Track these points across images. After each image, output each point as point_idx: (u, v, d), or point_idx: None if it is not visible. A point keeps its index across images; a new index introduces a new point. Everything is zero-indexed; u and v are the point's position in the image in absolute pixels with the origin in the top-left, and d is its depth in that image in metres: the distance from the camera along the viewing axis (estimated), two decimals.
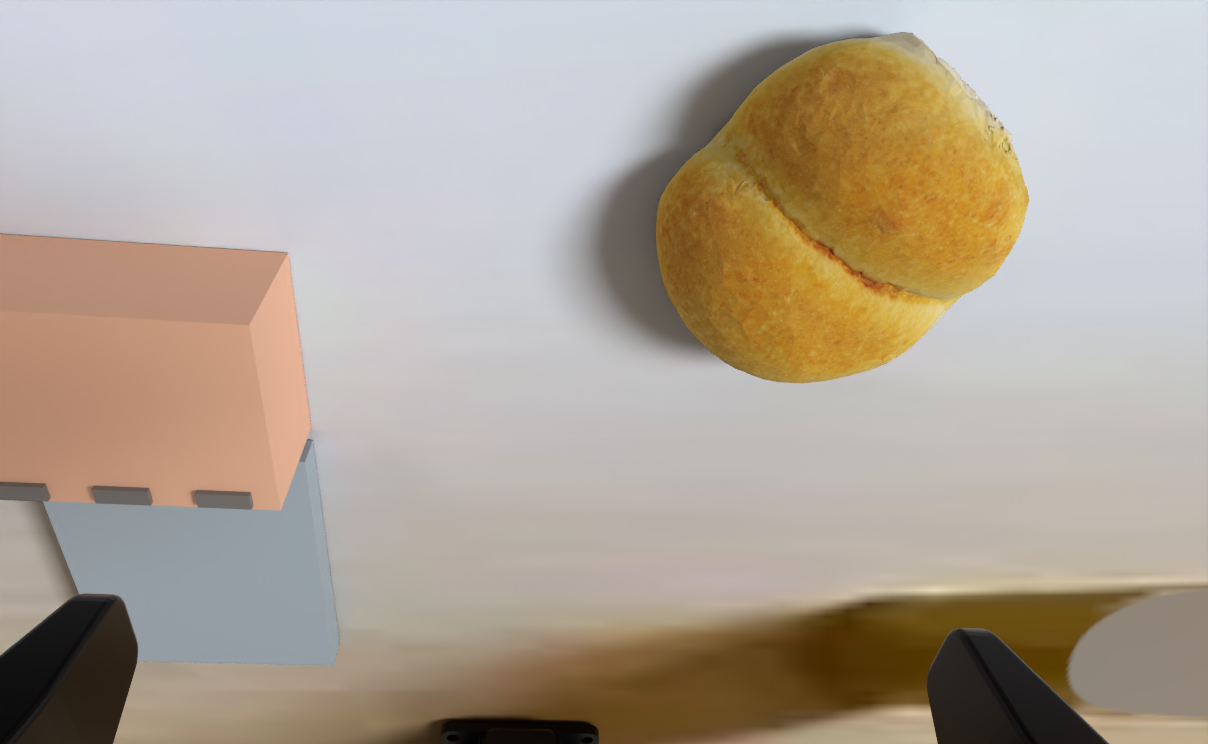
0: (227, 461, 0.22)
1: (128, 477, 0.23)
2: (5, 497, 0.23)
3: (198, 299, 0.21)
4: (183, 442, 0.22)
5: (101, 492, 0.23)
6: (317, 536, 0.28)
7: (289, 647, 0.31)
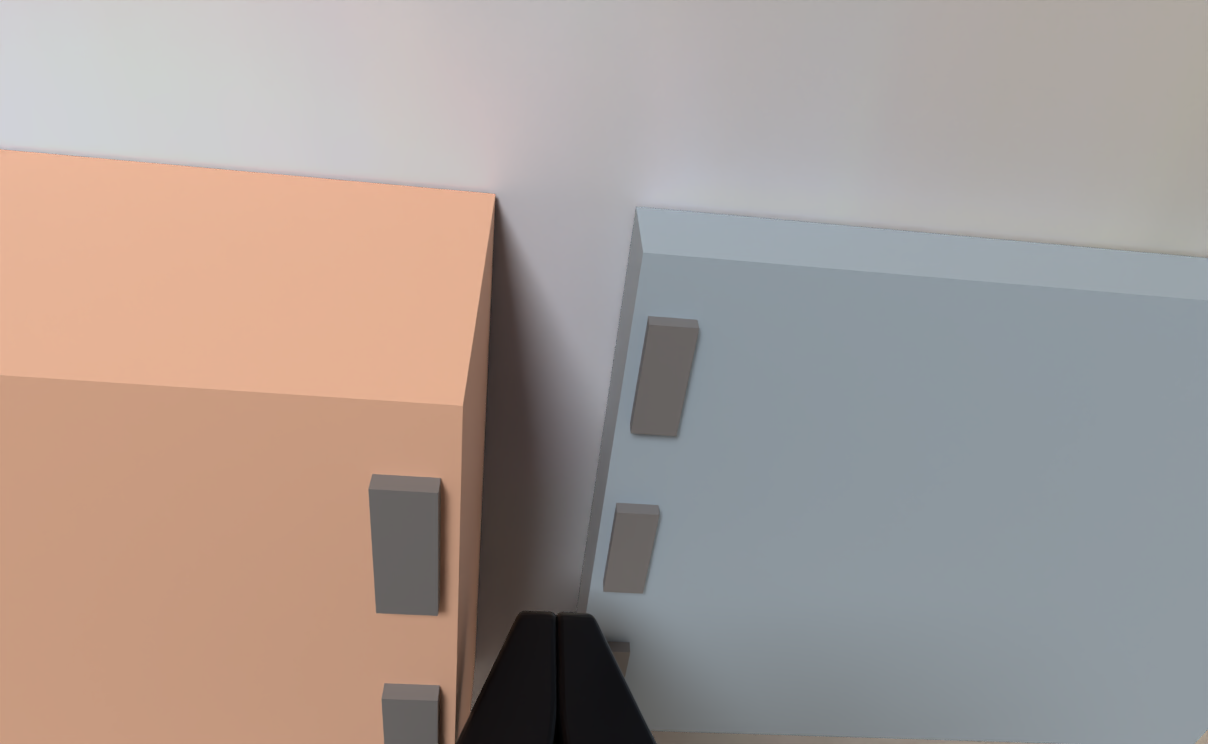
0: (231, 509, 0.07)
1: (348, 710, 0.08)
2: None
3: None
4: (175, 591, 0.07)
5: None
6: (975, 271, 0.09)
7: None
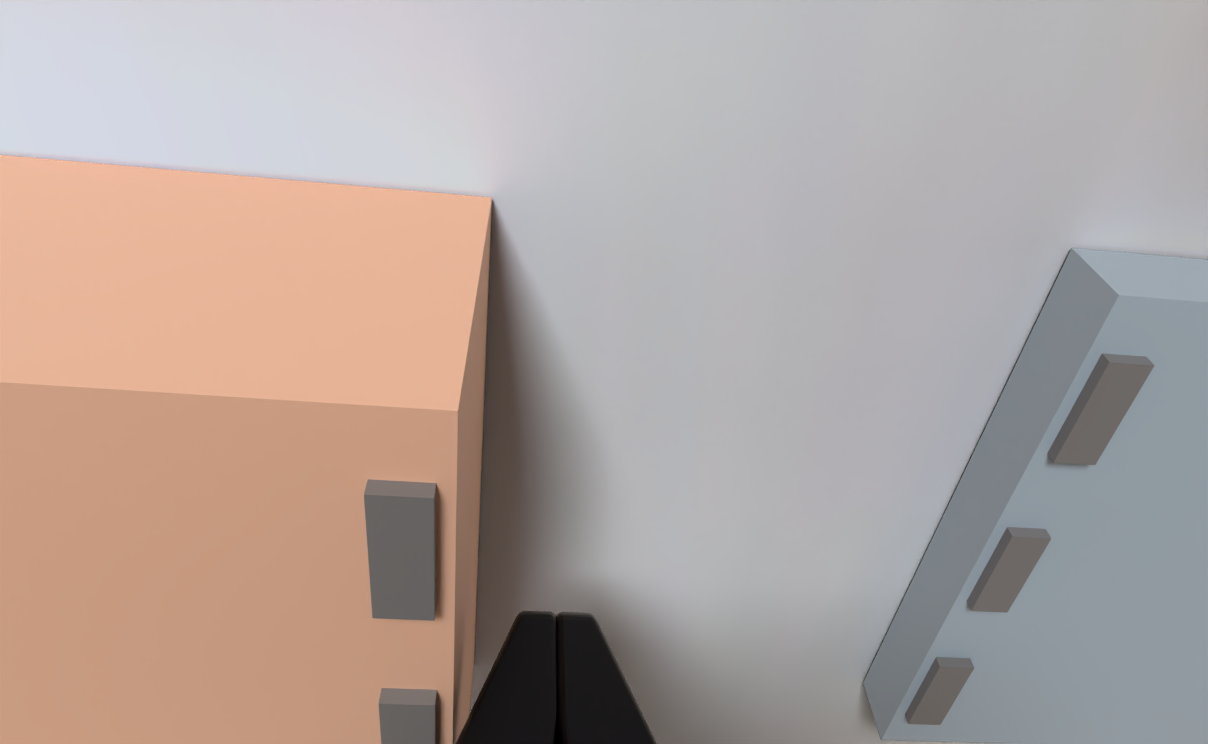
0: (227, 514, 0.07)
1: (345, 714, 0.08)
2: None
3: None
4: (172, 597, 0.07)
5: None
6: None
7: None
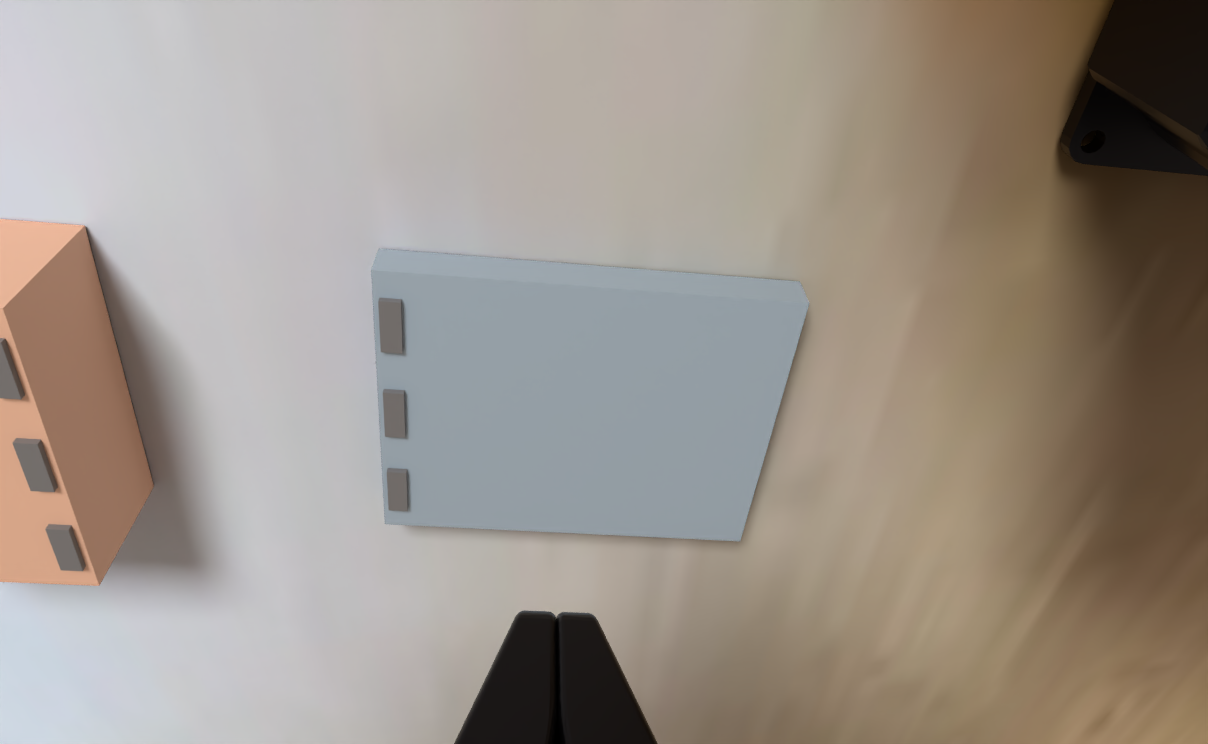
0: None
1: (5, 452, 0.19)
2: (81, 560, 0.20)
3: None
4: None
5: (35, 482, 0.19)
6: (525, 277, 0.20)
7: (753, 351, 0.21)
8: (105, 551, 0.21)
